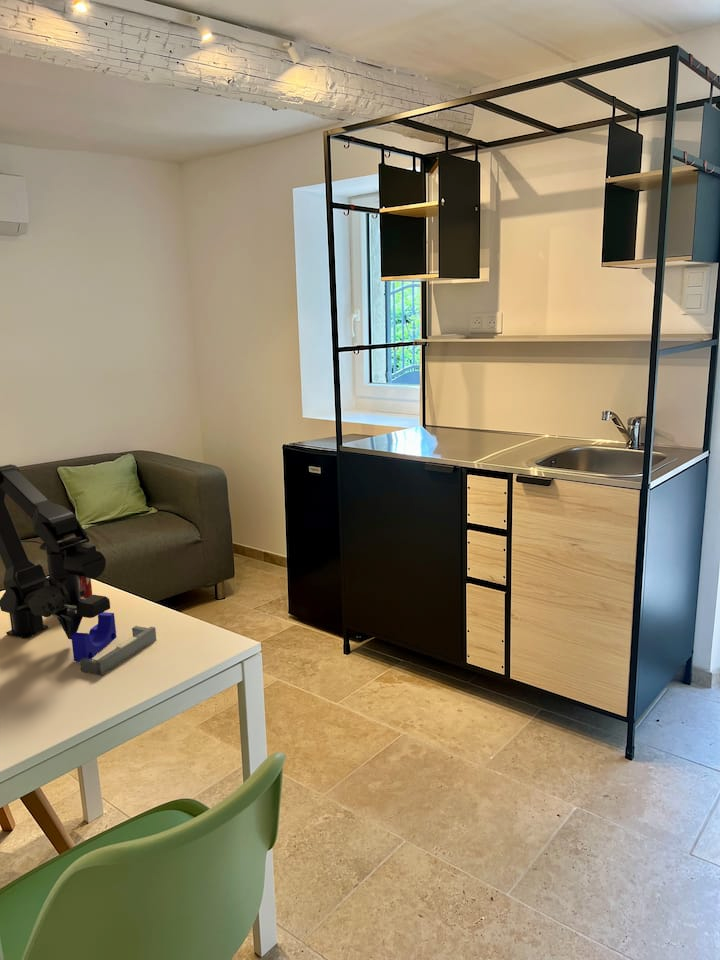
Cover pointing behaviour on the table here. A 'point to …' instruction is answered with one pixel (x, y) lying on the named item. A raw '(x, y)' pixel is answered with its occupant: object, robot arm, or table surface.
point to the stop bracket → (120, 652)
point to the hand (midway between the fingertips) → (71, 638)
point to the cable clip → (94, 637)
